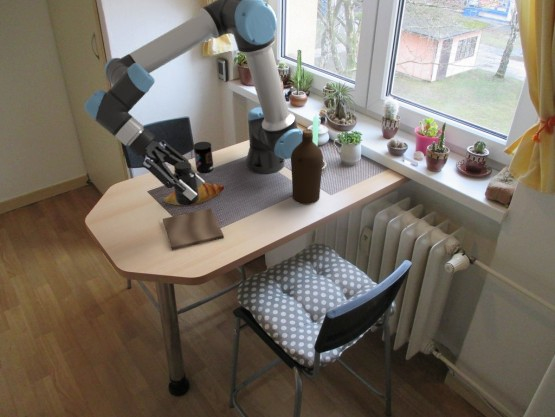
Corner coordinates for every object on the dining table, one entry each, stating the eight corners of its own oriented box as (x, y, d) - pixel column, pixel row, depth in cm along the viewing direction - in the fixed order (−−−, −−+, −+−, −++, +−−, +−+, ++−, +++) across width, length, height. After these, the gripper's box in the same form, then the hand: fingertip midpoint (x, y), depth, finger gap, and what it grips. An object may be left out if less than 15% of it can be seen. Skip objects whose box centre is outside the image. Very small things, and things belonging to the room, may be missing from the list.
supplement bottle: (203, 199, 138) (199, 165, 131) (184, 209, 134) (179, 173, 128) (190, 191, 142) (185, 157, 135) (171, 199, 139) (165, 165, 132)
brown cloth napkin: (211, 211, 153) (210, 208, 152) (223, 238, 141) (223, 235, 140) (162, 221, 148) (162, 218, 148) (171, 250, 136) (171, 247, 135)
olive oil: (322, 205, 155) (326, 137, 141) (291, 206, 155) (291, 138, 141) (319, 189, 164) (322, 123, 150) (290, 189, 164) (290, 124, 150)
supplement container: (201, 164, 181) (198, 140, 175) (216, 167, 179) (214, 142, 173) (193, 172, 175) (190, 148, 170) (209, 175, 174) (206, 150, 168)
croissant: (167, 217, 157) (166, 205, 150) (161, 193, 161) (159, 180, 154) (227, 203, 163) (228, 191, 156) (219, 180, 167) (220, 167, 160)
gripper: (142, 131, 139) (199, 181, 146) (113, 161, 123) (179, 215, 130) (156, 115, 135) (214, 167, 142) (128, 144, 119) (195, 201, 126)
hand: (197, 190), depth 136 cm, fingers closed on supplement bottle, 7 cm apart
